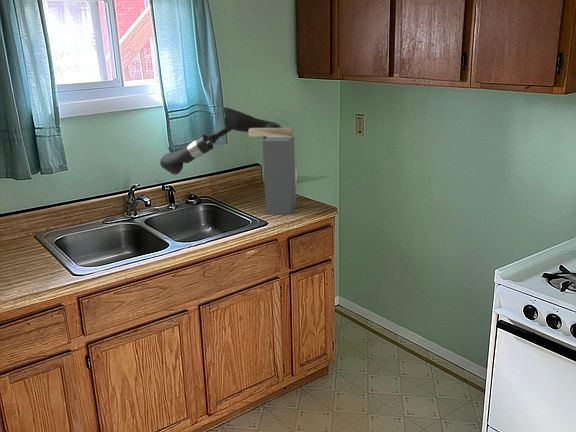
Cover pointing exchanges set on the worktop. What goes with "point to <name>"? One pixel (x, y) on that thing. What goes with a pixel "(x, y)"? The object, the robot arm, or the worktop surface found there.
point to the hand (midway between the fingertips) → (229, 128)
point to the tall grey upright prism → (279, 174)
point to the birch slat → (270, 131)
